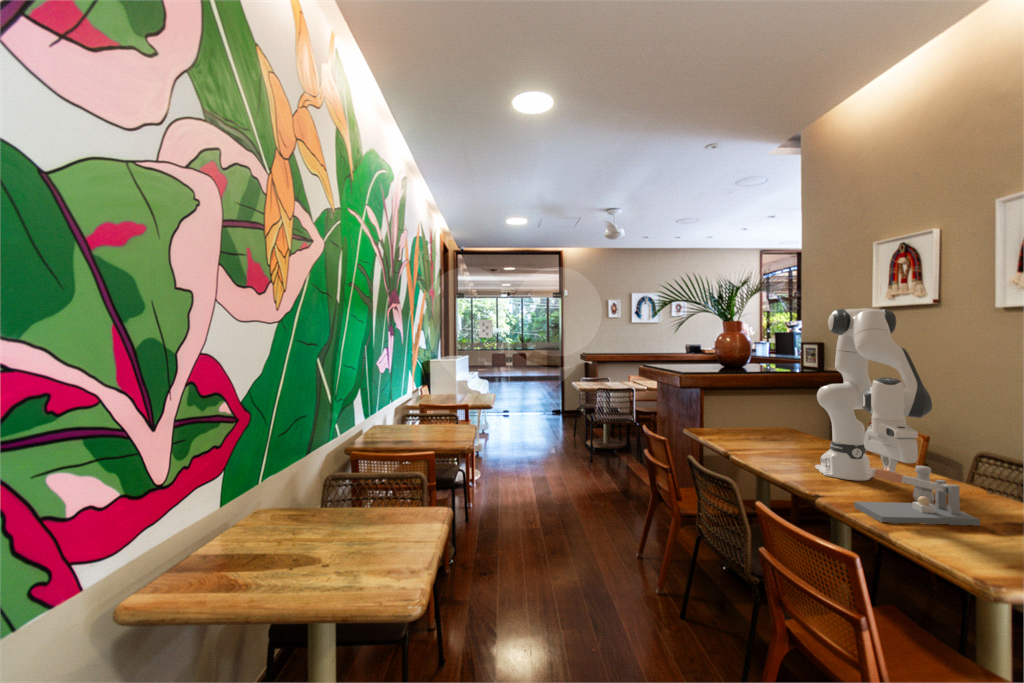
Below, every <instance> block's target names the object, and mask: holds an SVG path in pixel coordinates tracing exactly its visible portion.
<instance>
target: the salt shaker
mask: <svg viewBox="0 0 1024 683" xmlns="http://www.w3.org/2000/svg"><path fill="white" fill-rule="evenodd" d="M914 470H915V471H914V472H915V473H917V474H916V478H917V479H922V480H926V481H930V482H932V480H931V478H930V475H931V474H932V468H931V467H929V466H926V465H916V466H915V469H914ZM934 493H935V492H934V490H932V491H931V492H927V491H923V490H920V489H918V488H915V487H914V489H913V492H912V498H913V499H914V502H918V498H919V497H920V496H925V497H927V498H928V499H929V500H930V503H932V504H934V501H935V494H934Z"/></svg>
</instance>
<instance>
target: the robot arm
mask: <svg viewBox="0 0 1024 683" xmlns="http://www.w3.org/2000/svg"><path fill="white" fill-rule="evenodd" d="M897 324H898V321H897V316H896V314H895V313H894V311H891V310H888V309H882V308H881V309H877V308H876V309H875V308H869V307H868V308H867V307H866V308H865V307H863V308H848V309H847V308H846V309H844V308H838V309H837V308H836V309H834V310H833V311H831V312H830V315H829V317H828V319H827V325H828V326H827V327H828V328H829V332H831V333H832V334H834V335H838V337H837V343H836V348H835V360H834V361H835V362H834V368H835V370H836V371H837V372H839V373H840V374H841V377H842V379H843V381H842V382H843V383H829V384H827V385H823V386H820V388H819V389H818V391H817V393H816V398H817V399H816V400H817V402H818V404H819V405H820V406H821V408H823V409H824V410H825V411H826V413H828V416H829V419H830V422H831V431H832V432H831V433H832V440H830V441H829V444H830V446H829V449H828V450H827V451H826V452H824V453H823V454H822V455H821V456H820V458H819V461H820V464H815V465H814V468H815V469H816V470H817V469H818V470H817V471H819V472H820V473H821V474H822V473H823V474H822V475H824V476H826V477H829V478H830V477H831V478H832V477H833V478H836V479H842V480H847V481H849V480H850V481H862V482H863V481H869V480H870V479H871V478H874V477H873V476H871V475H868V473H865V472H866V468H867V467H870V466H871V464H870V458H869V456H868V455H867V454H866V453H867V451H868V452H871V453H873V454H877V455H880V460H881V462H882V467H883V468H882V469H885V470H887V471H890V472H896V467H897V465H898V463H899V462H901V463H903V464H916V463H917V461H918V457H919V449H918V447H919V446H918V442H917V440H916V439H918V437H919V432H918V431H917V430H916V429H914V428H912V427H911V426H910V425H909V424H907V418H909V417H910V418H916V419H917V418H918V419H921V418H923V417H925V416H926V415H928V414H929V413H930V412H931V411H932V410H933V400H932V397H931V394H930V393H929V391H928V389H927V388H926V387H925V385H924V383H923V381H922V379H921V377H920V375H919V373H918V370H917V368H916V366H915V364H914V362H913V360H912V358H911V356H910V354H909V353H908V351H907V350H906V349H905V347H902V346H900V345H898V344H897V343H896V342H895V341H894V339H893V337H892V333H894V332H895V330H896V328H897ZM869 361H871V362H876V363H880V364H883V365H886V366H889V367H891V368H892V369H895V370H896V371H897V372H898V373H899V375H900V378H901V380H900V379H898V378H894V377H879V378H878V377H877V378H874V379H873V380H872V381H871V379H870V376H869V369H868V368H869V367H868V366H869ZM855 410H865V412H868V413H869V414H871V424H869V426H867V429H866V430H865V428H866V427H865V425H864V424H863V422H862V421H861V420H858V419H857V417H856V414H855ZM906 417H907V418H906Z"/></svg>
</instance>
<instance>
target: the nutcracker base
mask: <svg viewBox="0 0 1024 683" xmlns="http://www.w3.org/2000/svg"><path fill="white" fill-rule="evenodd" d="M934 482H935V483H939V484H941V483H945V484H947V480H943V479H935V481H934ZM934 491H935V492H934V493H935V494H934V497H935V499H934V501H935V503H930V500H929V499H928V498H927V497H925V496H920V497H919V498H918V502H916V501H912V502H890V501H889V502H888V501H887V502H884V501H883V502H881V501H880V502H879V501H854V503H853V505H854V507H853V508H854V509H856V510H858V511H860V512H862V513H863V512H864V513H863V514H865V513H866V514H865V515H867V516H869V517H870V516H871V517H870V518H872V519H874V520H875V521H877V520H878V522H879V521H880V522H879V523H881V522H891V523H890V524H898V523H926V524H925V525H933V524H949V525H948V526H967V525H973V527H976V526H977V527H980V526H981V519H980V518H978V517H976V516H973V515H970V514H968V513H966V512H964V511H962V510H960V509H961V507H960V505H961V504H960V500H961V499H960V486H959V485H958V484H948V494H945V493H943V492H941V491H937V490H934ZM947 503H948V504H947Z"/></svg>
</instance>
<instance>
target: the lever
mask: <svg viewBox="0 0 1024 683" xmlns="http://www.w3.org/2000/svg"><path fill="white" fill-rule="evenodd" d="M865 473H868V475H871V476H873V477H872V478H876V479H881V480H884V481H888V482H894V483H897V484H902V483H904V484H908V485H912V486H914V487H915V488H918V489H920V490H923V491H927V492H931V491H932V490H933V491H935V490H937V491H941V492H943V493H945V494H946V495H948V485H949V484H948V483H946V484H945V483H941V484H939V483H935V481H931V482H930V481H926V480H922V479H917V477H913V476H907V475H904V474H901V473H899V472H897V471H895V472H890V471H887V470H885V469H884V468H880V467H876V466H871V465H870V467H867V468H866V472H865Z"/></svg>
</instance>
